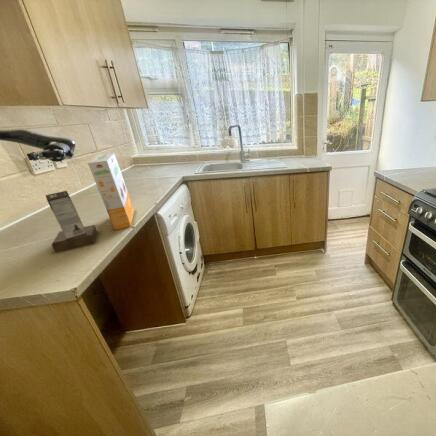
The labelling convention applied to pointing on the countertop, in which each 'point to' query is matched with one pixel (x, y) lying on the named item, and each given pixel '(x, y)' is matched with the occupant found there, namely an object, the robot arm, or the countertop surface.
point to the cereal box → (112, 189)
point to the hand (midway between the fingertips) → (47, 156)
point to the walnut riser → (75, 240)
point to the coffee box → (66, 214)
